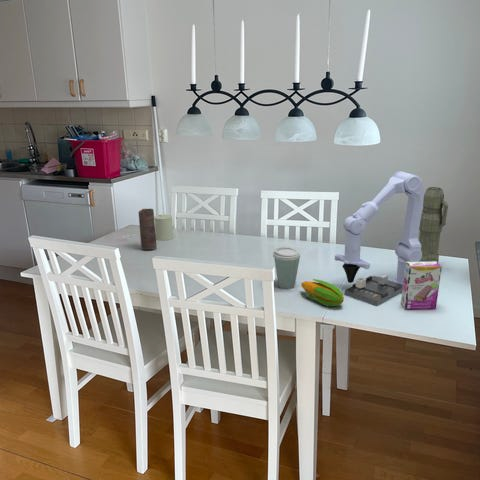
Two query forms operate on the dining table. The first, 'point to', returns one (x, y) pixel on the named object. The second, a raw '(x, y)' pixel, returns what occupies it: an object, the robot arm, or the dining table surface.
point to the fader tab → (360, 282)
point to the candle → (147, 229)
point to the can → (163, 227)
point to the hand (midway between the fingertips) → (350, 281)
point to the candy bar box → (420, 285)
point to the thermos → (432, 223)
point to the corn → (323, 292)
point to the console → (374, 291)
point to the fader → (383, 279)
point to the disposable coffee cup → (286, 266)
